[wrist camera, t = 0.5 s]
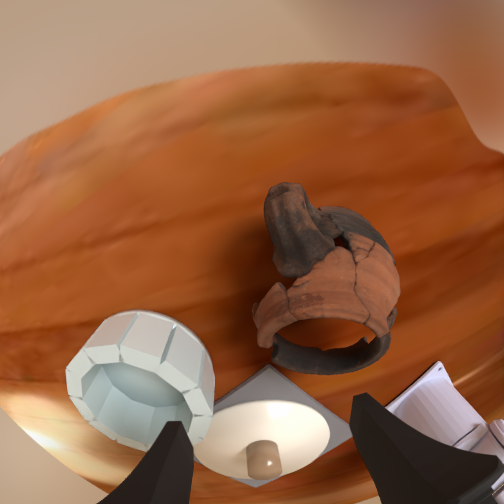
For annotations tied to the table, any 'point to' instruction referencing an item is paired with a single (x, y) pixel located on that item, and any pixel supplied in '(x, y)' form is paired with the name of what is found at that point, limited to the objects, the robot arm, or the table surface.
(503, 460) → the robot arm
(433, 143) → the table surface
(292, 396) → the mat
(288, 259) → the dark brown rounded loops
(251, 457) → the lid
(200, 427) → the bowl
